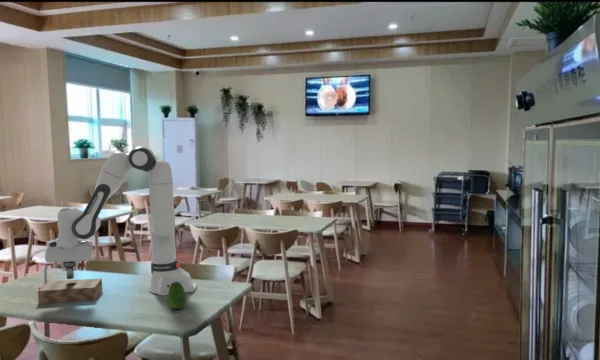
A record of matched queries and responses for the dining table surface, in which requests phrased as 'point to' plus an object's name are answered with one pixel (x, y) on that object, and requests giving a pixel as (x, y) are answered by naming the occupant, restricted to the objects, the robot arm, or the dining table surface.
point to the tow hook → (45, 276)
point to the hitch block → (70, 291)
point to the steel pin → (70, 269)
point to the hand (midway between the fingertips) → (70, 270)
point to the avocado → (176, 296)
